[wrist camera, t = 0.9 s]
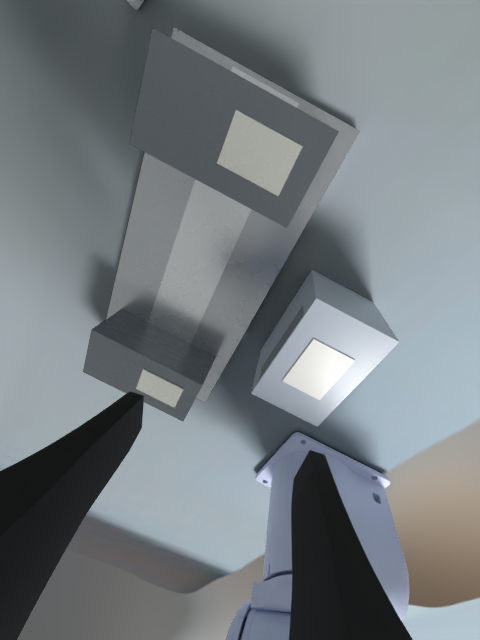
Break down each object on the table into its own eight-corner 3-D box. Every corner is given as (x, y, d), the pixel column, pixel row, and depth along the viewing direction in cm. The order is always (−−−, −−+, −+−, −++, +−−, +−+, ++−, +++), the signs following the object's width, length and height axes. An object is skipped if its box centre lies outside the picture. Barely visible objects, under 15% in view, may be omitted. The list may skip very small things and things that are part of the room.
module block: (373, 302, 17) (400, 343, 13) (313, 375, 20) (317, 428, 16) (311, 268, 17) (315, 298, 12) (260, 348, 20) (250, 394, 16)
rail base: (357, 133, 13) (379, 113, 10) (207, 397, 23) (190, 436, 20) (178, 33, 13) (133, -26, 9) (103, 346, 23) (67, 375, 19)
